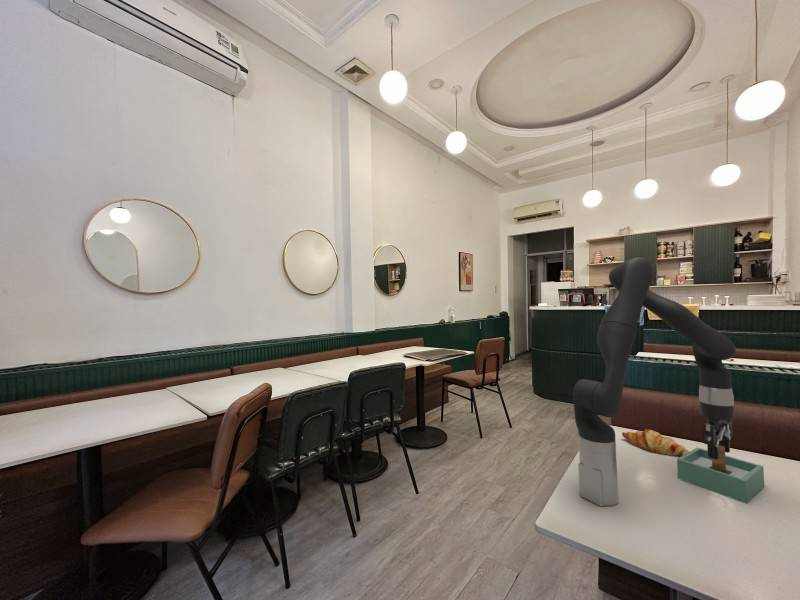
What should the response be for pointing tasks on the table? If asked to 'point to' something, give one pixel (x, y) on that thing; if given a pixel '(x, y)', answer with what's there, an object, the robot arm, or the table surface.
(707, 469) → the box
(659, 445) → the croissant
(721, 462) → the peg
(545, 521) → the table surface
